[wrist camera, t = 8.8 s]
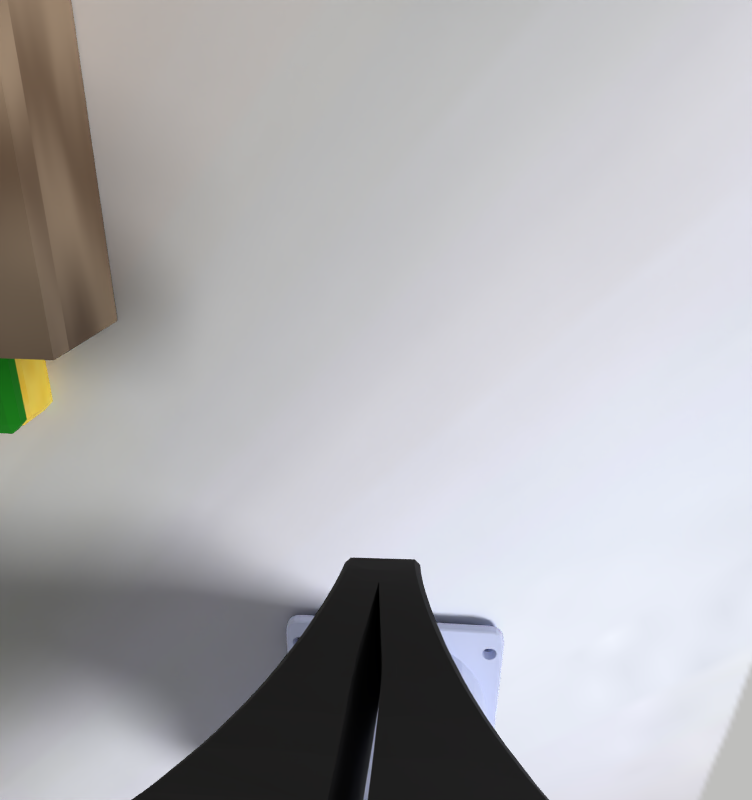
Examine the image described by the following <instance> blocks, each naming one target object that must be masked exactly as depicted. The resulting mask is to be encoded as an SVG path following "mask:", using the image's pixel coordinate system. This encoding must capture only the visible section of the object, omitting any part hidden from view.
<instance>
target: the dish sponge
mask: <svg viewBox="0 0 752 800" xmlns="http://www.w3.org/2000/svg"><path fill="white" fill-rule="evenodd" d="M52 401H53V400H52V394H51V389H50V384H49V378H48V373H47V368H46V362H45V360H35V359H7V358H0V433H9V434H13V433H14V432H15V431H17V430H18V429H19V428H20V427H21V426H22V425H25V424H26V423H28V422H29V421H30V420H32V419H33V418H34V417H36V416H37V415H39V414H40V413H41V412H43V411H44V410H45V409H46V408H47V407H48V406H49V405H50V404H51V402H52Z"/></svg>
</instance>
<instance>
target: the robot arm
mask: <svg viewBox="0 0 752 800" xmlns="http://www.w3.org/2000/svg"><path fill="white" fill-rule="evenodd" d="M296 637H300V638H299V639H297V638H296ZM286 639H287V655H286V656H285V657H284V659H283V660H282V661H281V663H280V664H279V665H278V666H277V668H276V669H275V670H274V671H273V672H272V674H271V675H270V676H269V677H268V678H267V679H266V681H265V682H264V683H263V684H262V685H261V686H260V687H259V688H258V690H257V691H256V692H255V693H254V694H253V695H252V696H251V697H250V698H249V699H248V700H247V701H246V702H245V703H244V705H243V706H242V707H241V708H240V709H238V710H237V711H236V712H235V713H234V714H233V715H232V716H231V717H230V718H229V719H228V720H227V721H226V722H225V723H224V724H223V725H222V726H221V727H220V728H219V729H218V730H217V731H216V732H215V733H214V734H213V735H212V736H210V737H209V738H208V739H207V740H206V741H205V742H204V743H203V744H202V745H200V746H199V747H198V748H197V749H196V750H194V751H193V752H192V753H191V754H190V755H188V756H187V757H186V758H185V759H184V760H182V761H181V762H180V763H179V764H177V765H176V766H175V767H174V768H173V769H171V770H170V771H169V772H168V773H166V774H165V775H164V776H163V777H162V778H160V779H159V780H158V781H157V782H155V783H154V784H153V785H151V786H150V787H149V788H147V789H146V790H145V791H143V792H142V793H141V794H139V795H138V796H136V797H135V798H133V799H132V800H549V799H548V798H547V797H546V796H545V795H544V793H543V792H542V791H541V790H540V789H539V788H538V786H537V785H536V784H535V783H534V781H533V780H532V779H531V777H530V776H529V775H528V774H527V772H526V771H525V770H524V768H523V767H522V766H521V764H520V763H519V762H518V761H517V759H516V758H515V757H514V755H513V754H512V753H511V752H510V750H509V749H508V748H507V746H506V745H505V744H504V742H503V741H502V740H501V738H500V737H499V735H498V734H497V732H496V731H495V720H496V711H497V703H498V694H499V685H500V676H501V667H502V658H503V650H504V638H503V633H502V632H501V630H500V629H498V628H497V627H494V626H485V625H467V624H450V623H436V620H435V618H434V615H433V613H432V610H431V607H430V604H429V601H428V598H427V595H426V592H425V589H424V585H423V581H422V576H421V569H420V564H419V563H418V562H417V561H416V560H412V559H379V558H350V559H349V560H348V561H346V562H345V564H344V566H343V569H342V571H341V573H340V575H339V577H338V579H337V580H336V582H335V584H334V586H333V588H332V589H331V591H330V593H329V594H328V596H327V598H326V599H325V601H324V603H323V604H322V606H321V607H320V609H319V610H318V612H317V613H316V615H315V616H312V615H295V616H293V617H291V618H290V619H289V621H288V624H287V628H286ZM485 649H494V650H493V651H490V652H487V651H484V650H485Z"/></svg>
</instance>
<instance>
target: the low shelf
mask: <svg viewBox="0 0 752 800" xmlns="http://www.w3.org/2000/svg"><path fill="white" fill-rule="evenodd" d="M116 321H117V315H116V308H115V301H114V294H113V287H112V280H111V273H110V266H109V259H108V253H107V246H106V239H105V232H104V225H103V218H102V211H101V204H100V197H99V190H98V183H97V176H96V169H95V163H94V156H93V149H92V142H91V135H90V128H89V121H88V114H87V107H86V100H85V93H84V86H83V80H82V73H81V66H80V59H79V52H78V45H77V38H76V31H75V24H74V17H73V10H72V3H71V0H0V358H7V359H35V360H55V359H57V358H58V357H60V356H61V355H63V354H65V353H66V352H68V351H69V350H71V349H73V348H74V347H76V346H78V345H79V344H81V343H82V342H84V341H86V340H87V339H89V338H90V337H92V336H94V335H95V334H97V333H98V332H100V331H102V330H103V329H105V328H107V327H108V326H110V325H111V324H113V323H115V322H116Z"/></svg>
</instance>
